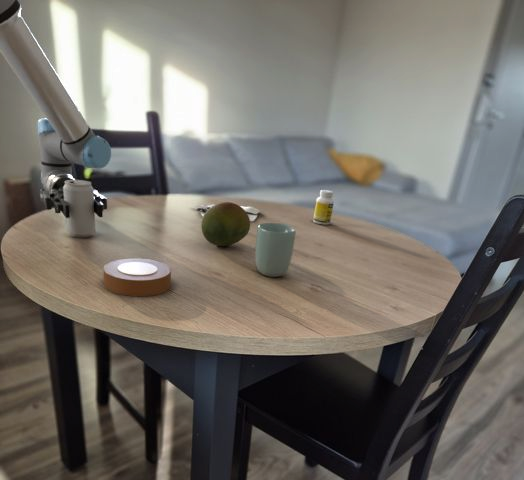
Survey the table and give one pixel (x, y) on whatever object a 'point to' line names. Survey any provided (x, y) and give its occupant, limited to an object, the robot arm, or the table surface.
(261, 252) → the cup
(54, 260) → the table surface
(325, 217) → the supplement bottle
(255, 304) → the table surface
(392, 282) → the table surface
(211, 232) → the fruit
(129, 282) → the brown round flat disc
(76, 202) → the beverage can
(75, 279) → the table surface
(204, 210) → the cloth
